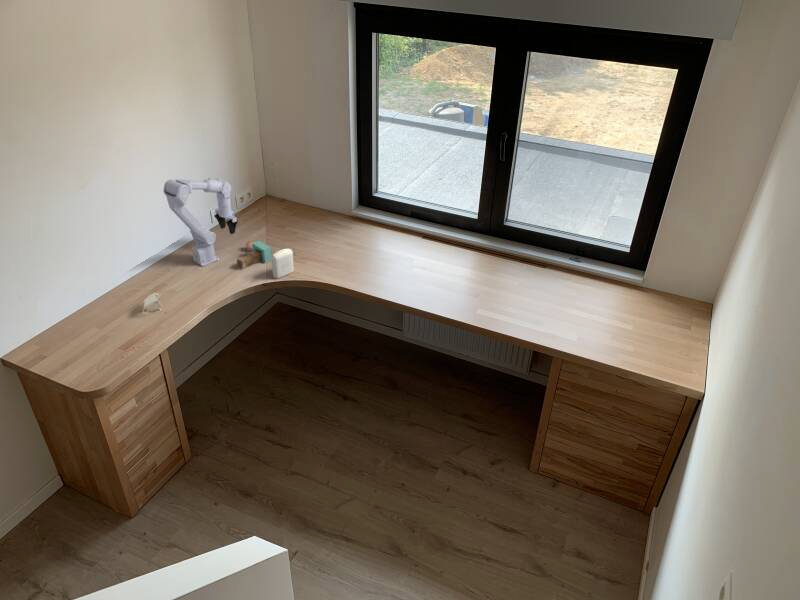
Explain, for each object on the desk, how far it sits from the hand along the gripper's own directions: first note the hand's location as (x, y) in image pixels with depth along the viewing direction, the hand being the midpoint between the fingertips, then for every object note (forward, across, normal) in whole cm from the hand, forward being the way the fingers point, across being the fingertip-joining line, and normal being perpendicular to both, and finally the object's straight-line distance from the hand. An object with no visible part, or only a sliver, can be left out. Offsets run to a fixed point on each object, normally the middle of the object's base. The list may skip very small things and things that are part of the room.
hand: (227, 230), depth 296 cm
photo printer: (+10, -37, -3) cm, 38 cm away
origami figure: (+10, -20, +52) cm, 57 cm away
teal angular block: (+9, -19, -5) cm, 22 cm away
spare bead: (+10, -9, -6) cm, 14 cm away
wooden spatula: (+9, -19, -1) cm, 21 cm away
